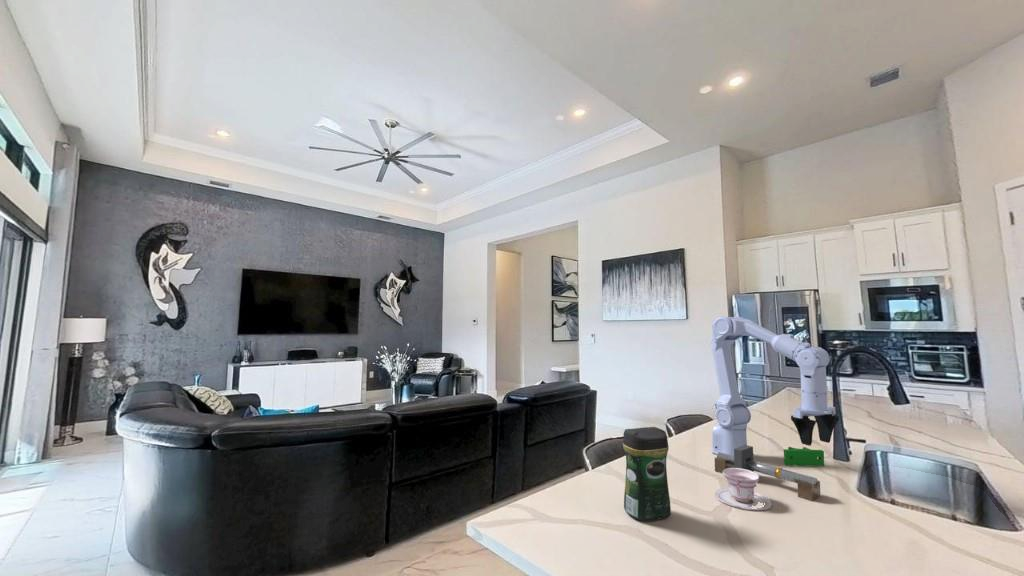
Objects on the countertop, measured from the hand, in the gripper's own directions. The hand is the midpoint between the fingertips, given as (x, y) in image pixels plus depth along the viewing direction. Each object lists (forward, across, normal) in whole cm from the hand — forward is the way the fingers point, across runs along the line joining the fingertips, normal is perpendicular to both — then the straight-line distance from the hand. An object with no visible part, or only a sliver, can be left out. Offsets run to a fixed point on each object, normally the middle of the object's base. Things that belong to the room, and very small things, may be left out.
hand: (815, 443), depth 113 cm
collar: (+10, -16, +9) cm, 21 cm away
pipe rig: (+10, -14, +4) cm, 18 cm away
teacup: (+10, -29, -1) cm, 31 cm away
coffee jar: (+10, -56, +1) cm, 57 cm away
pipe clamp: (+10, +10, +11) cm, 18 cm away
